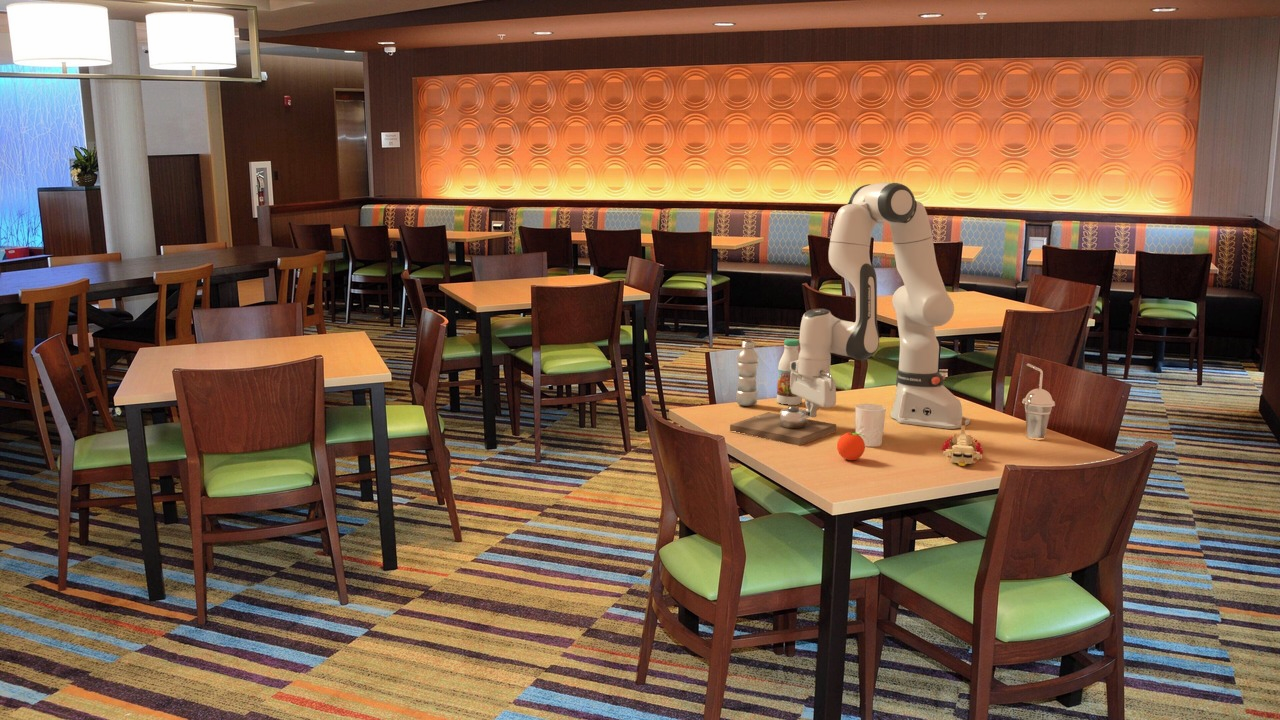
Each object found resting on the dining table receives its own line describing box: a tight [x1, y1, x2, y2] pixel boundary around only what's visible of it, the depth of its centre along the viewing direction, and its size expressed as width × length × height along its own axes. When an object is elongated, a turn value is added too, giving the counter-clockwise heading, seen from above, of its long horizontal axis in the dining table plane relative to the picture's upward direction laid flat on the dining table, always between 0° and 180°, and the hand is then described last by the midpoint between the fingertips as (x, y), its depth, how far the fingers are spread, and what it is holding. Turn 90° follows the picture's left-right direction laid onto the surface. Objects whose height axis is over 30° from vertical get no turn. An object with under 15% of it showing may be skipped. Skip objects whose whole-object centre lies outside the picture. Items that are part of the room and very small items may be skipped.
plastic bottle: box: [735, 340, 759, 407], centre depth 320 cm, size 6×7×20 cm
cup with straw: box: [1021, 363, 1056, 439], centre depth 286 cm, size 8×9×20 cm
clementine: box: [836, 432, 869, 461], centre depth 264 cm, size 8×7×7 cm
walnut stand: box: [729, 411, 837, 446], centre depth 291 cm, size 22×20×2 cm
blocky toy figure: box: [941, 417, 984, 467], centre depth 269 cm, size 10×9×25 cm
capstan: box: [779, 405, 811, 428], centre depth 292 cm, size 16×7×5 cm, turn 146°
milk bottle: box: [776, 338, 803, 406], centre depth 325 cm, size 8×8×20 cm
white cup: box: [854, 403, 887, 448], centre depth 279 cm, size 8×8×10 cm
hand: (811, 416), depth 294 cm, fingers closed
